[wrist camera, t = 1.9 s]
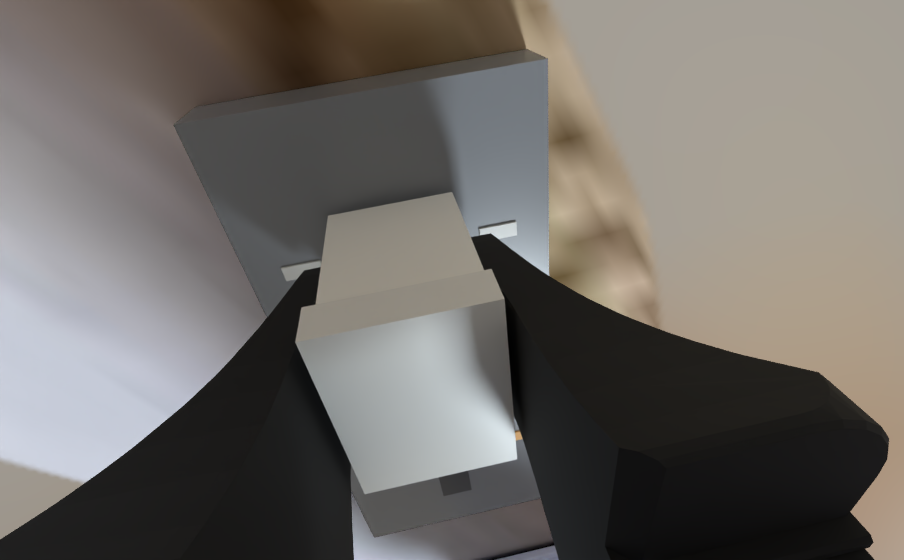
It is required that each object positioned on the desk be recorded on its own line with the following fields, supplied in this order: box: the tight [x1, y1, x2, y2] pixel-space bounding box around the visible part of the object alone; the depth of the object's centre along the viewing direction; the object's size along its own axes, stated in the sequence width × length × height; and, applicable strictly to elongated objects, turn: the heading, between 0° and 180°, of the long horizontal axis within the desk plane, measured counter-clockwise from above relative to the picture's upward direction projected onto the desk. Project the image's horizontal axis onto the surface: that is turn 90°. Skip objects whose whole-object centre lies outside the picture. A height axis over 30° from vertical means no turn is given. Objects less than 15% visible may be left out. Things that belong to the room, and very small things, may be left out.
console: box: [174, 49, 549, 537], centre depth 15 cm, size 18×8×2 cm, turn 8°
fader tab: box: [295, 192, 517, 494], centre depth 10 cm, size 4×3×5 cm
